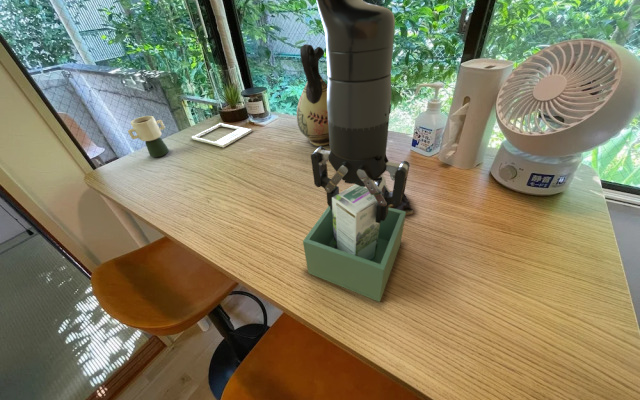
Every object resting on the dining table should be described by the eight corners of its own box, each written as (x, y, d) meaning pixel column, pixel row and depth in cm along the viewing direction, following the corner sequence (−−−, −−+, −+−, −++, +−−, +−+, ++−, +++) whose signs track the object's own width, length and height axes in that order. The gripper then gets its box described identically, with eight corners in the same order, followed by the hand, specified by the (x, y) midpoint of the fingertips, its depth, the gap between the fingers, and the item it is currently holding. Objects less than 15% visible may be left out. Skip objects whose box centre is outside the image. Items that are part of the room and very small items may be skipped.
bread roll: (368, 221, 57) (369, 209, 54) (360, 198, 63) (361, 186, 61) (415, 216, 57) (418, 203, 54) (403, 193, 63) (404, 181, 61)
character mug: (171, 146, 97) (155, 112, 89) (179, 151, 93) (162, 116, 84) (141, 157, 91) (120, 122, 83) (148, 163, 87) (127, 127, 79)
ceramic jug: (308, 130, 98) (298, 39, 80) (347, 132, 94) (346, 37, 75) (291, 150, 86) (274, 49, 67) (335, 154, 81) (330, 47, 63)
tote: (379, 302, 42) (384, 269, 36) (308, 273, 47) (302, 241, 42) (400, 244, 51) (406, 211, 45) (338, 225, 56) (336, 194, 51)
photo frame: (222, 144, 91) (191, 136, 99) (223, 147, 92) (192, 139, 100) (250, 128, 100) (220, 122, 109) (251, 131, 101) (221, 125, 109)
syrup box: (355, 239, 52) (355, 180, 43) (377, 257, 48) (383, 196, 39) (334, 254, 49) (329, 195, 40) (355, 274, 45) (356, 213, 36)
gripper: (293, 118, 32) (307, 216, 42) (411, 133, 26) (394, 242, 36) (320, 99, 37) (327, 190, 47) (424, 108, 31) (406, 210, 41)
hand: (356, 213), depth 41 cm, fingers closed on syrup box, 7 cm apart
